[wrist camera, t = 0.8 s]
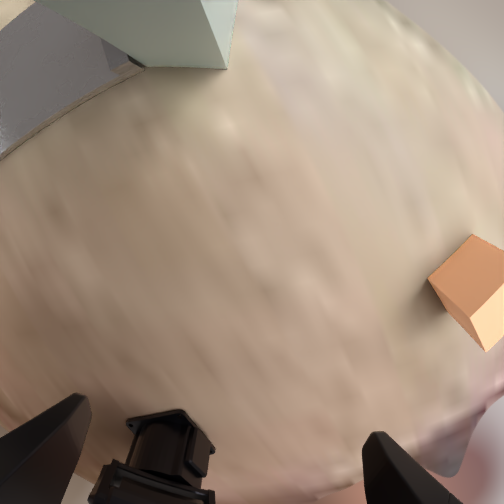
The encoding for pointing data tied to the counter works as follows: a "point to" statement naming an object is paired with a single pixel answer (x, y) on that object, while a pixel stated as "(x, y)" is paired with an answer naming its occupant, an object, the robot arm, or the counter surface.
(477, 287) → the block
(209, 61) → the block
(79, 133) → the counter surface
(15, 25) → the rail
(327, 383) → the counter surface
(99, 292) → the counter surface
